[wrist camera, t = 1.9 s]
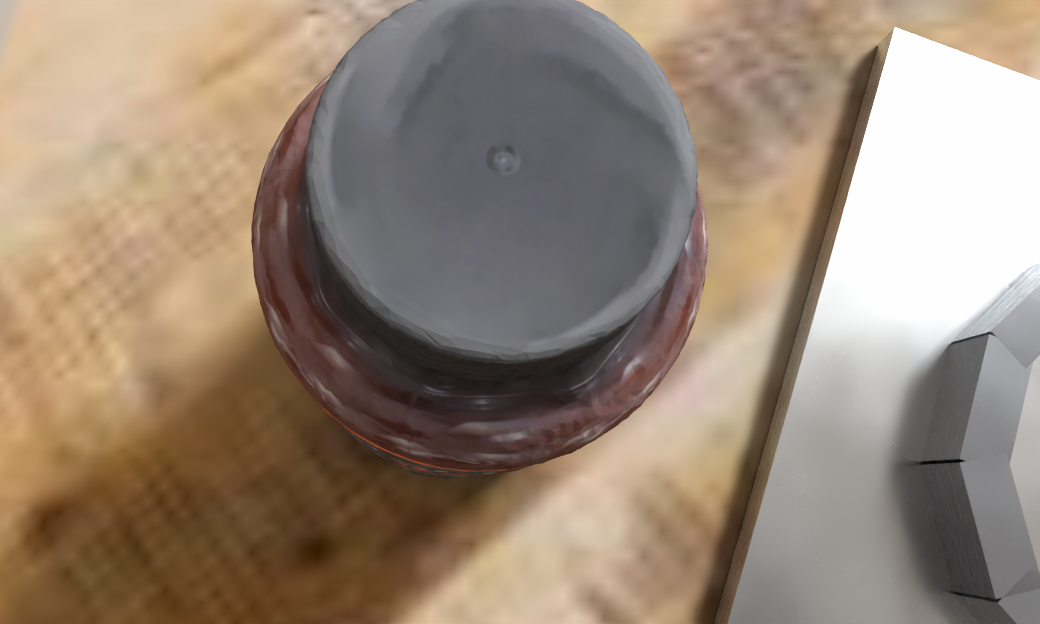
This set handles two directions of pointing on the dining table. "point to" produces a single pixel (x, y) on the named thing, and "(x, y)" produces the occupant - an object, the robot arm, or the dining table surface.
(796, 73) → the dining table surface
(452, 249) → the supplement bottle
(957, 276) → the duct plate
